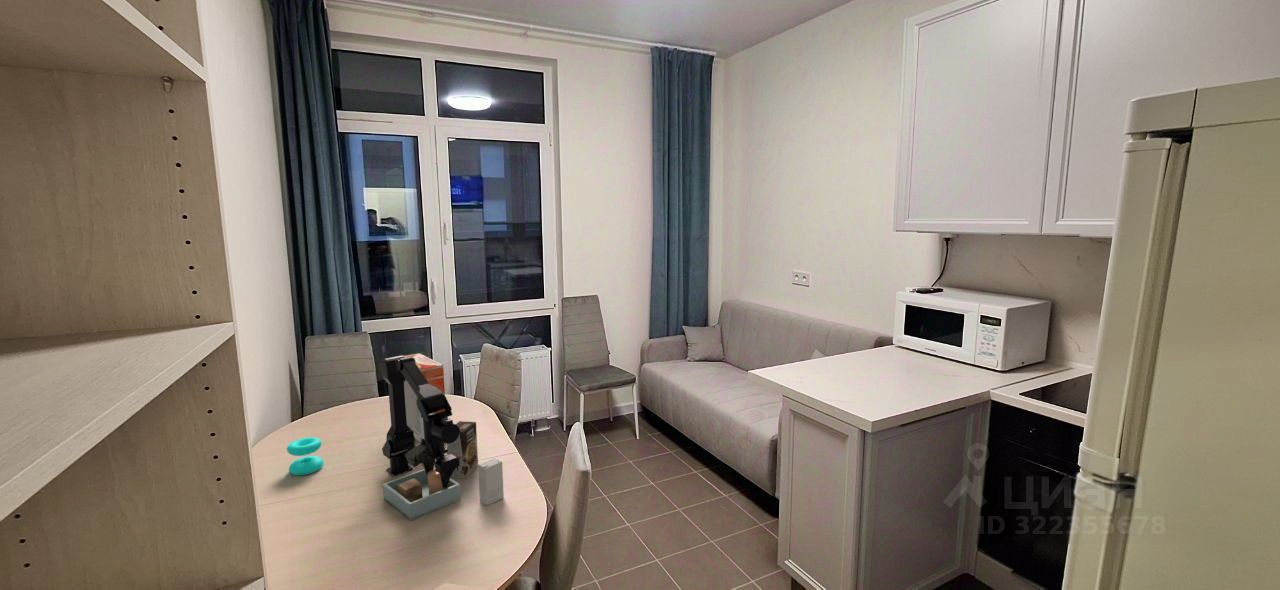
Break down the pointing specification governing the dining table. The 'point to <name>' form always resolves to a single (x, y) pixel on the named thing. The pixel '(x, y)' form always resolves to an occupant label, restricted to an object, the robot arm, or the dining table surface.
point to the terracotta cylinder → (434, 482)
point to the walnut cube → (410, 490)
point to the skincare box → (490, 481)
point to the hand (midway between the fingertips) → (437, 482)
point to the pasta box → (433, 376)
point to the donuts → (305, 463)
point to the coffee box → (465, 449)
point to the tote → (424, 504)
